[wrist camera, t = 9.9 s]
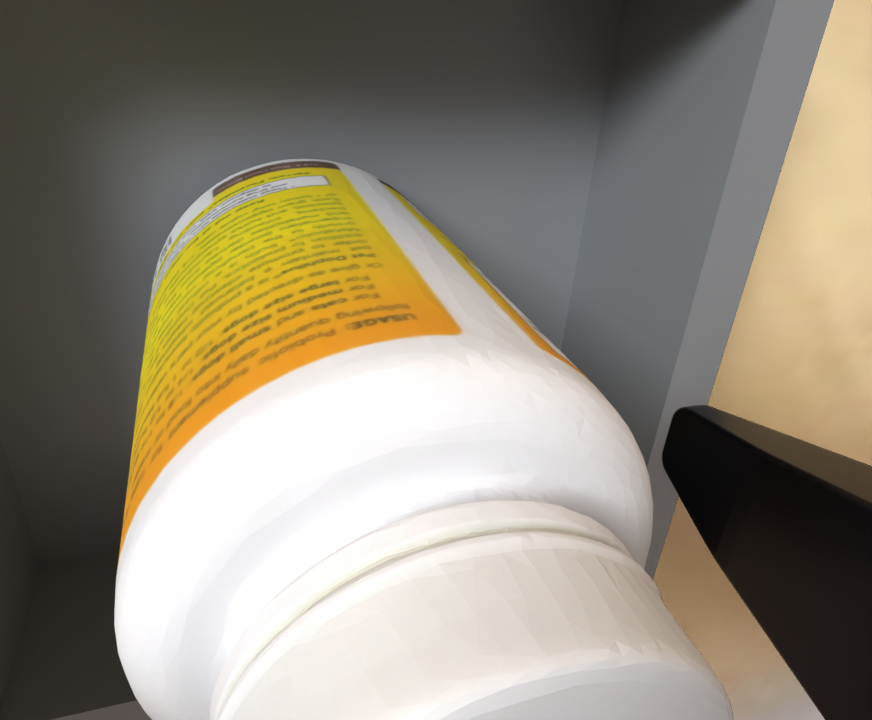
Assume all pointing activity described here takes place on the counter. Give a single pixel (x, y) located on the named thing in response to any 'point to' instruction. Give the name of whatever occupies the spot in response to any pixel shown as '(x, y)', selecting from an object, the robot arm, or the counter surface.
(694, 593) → the counter surface
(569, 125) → the box
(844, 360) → the counter surface
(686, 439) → the robot arm
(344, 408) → the supplement bottle
